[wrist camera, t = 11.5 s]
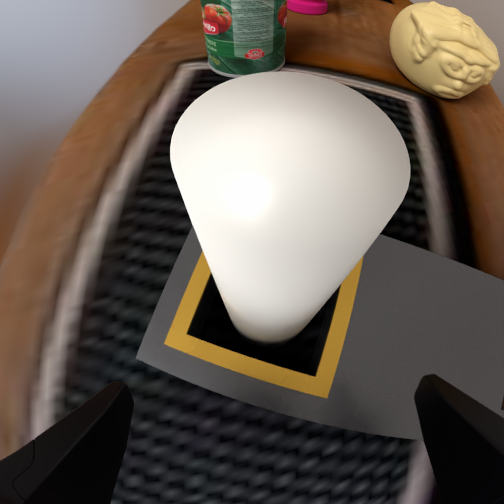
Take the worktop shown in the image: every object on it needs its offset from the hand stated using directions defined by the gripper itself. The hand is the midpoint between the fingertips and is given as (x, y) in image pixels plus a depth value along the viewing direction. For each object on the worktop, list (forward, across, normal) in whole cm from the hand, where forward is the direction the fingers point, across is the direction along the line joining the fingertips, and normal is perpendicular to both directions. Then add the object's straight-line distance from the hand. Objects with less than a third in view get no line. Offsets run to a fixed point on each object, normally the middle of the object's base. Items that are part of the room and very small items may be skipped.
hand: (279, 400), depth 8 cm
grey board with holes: (+6, -9, +4) cm, 11 cm away
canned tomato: (+26, +2, -16) cm, 30 cm away
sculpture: (+26, -20, -16) cm, 36 cm away
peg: (+8, 0, +2) cm, 9 cm away
